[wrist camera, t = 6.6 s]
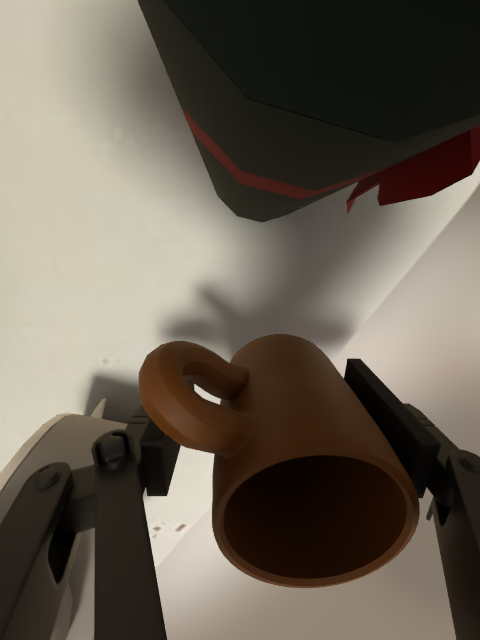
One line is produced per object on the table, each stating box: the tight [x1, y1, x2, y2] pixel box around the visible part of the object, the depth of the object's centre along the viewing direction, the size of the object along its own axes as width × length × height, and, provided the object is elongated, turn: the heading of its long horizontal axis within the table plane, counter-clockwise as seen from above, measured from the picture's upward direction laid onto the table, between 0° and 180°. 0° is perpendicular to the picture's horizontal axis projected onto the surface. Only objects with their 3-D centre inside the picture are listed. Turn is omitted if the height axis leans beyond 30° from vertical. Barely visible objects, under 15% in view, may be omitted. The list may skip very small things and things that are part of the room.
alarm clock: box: [0, 398, 128, 640], centre depth 16 cm, size 16×9×22 cm, turn 161°
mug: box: [139, 334, 419, 588], centre depth 13 cm, size 12×8×9 cm, turn 48°
